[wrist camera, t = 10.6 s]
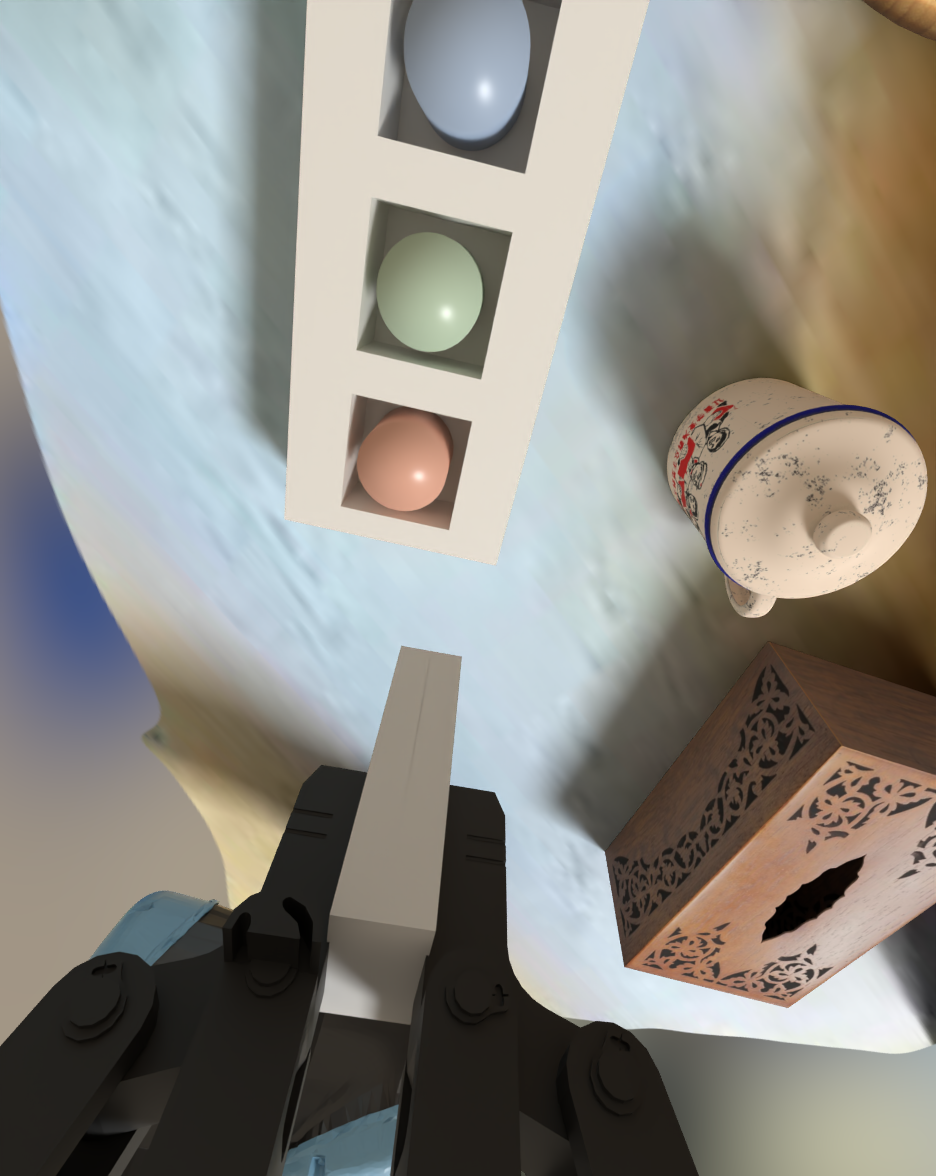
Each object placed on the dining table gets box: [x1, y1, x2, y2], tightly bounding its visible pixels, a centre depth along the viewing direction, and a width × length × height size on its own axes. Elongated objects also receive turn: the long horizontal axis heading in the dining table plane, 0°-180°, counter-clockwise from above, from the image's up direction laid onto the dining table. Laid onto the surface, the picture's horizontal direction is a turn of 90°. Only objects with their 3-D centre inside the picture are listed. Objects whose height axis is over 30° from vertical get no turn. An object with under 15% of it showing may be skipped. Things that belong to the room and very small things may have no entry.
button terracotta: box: [357, 406, 453, 511], centre depth 30 cm, size 5×5×4 cm
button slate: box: [404, 0, 530, 151], centre depth 22 cm, size 5×5×4 cm
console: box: [285, 0, 649, 565], centre depth 26 cm, size 25×12×5 cm, turn 168°
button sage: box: [376, 232, 485, 352], centre depth 26 cm, size 5×5×4 cm
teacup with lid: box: [667, 378, 927, 618], centre depth 28 cm, size 12×9×12 cm
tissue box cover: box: [605, 641, 936, 1008], centre depth 41 cm, size 26×14×10 cm, turn 162°
